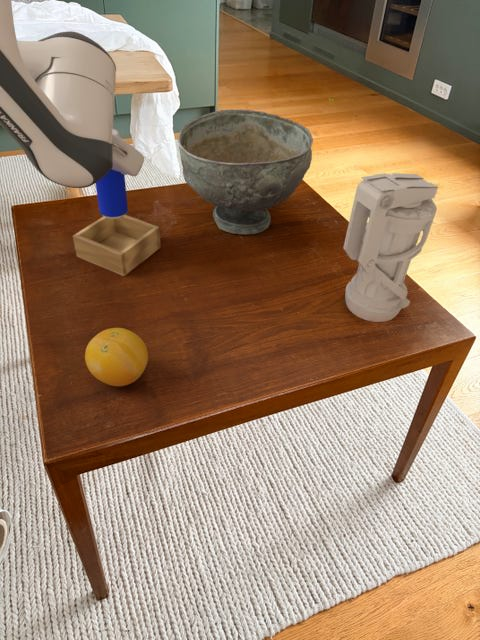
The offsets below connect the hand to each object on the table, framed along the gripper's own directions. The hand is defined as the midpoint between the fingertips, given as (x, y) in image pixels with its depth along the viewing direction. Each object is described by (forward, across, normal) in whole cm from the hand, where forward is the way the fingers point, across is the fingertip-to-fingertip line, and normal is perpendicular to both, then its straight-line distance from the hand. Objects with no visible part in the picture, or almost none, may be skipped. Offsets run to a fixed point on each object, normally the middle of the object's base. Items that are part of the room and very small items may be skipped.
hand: (110, 165), depth 87 cm
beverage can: (+6, 0, +7) cm, 9 cm away
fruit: (-5, -21, +31) cm, 38 cm away
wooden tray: (+12, 0, +13) cm, 18 cm away
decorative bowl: (+30, -14, -4) cm, 33 cm away
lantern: (+20, -48, +5) cm, 52 cm away
